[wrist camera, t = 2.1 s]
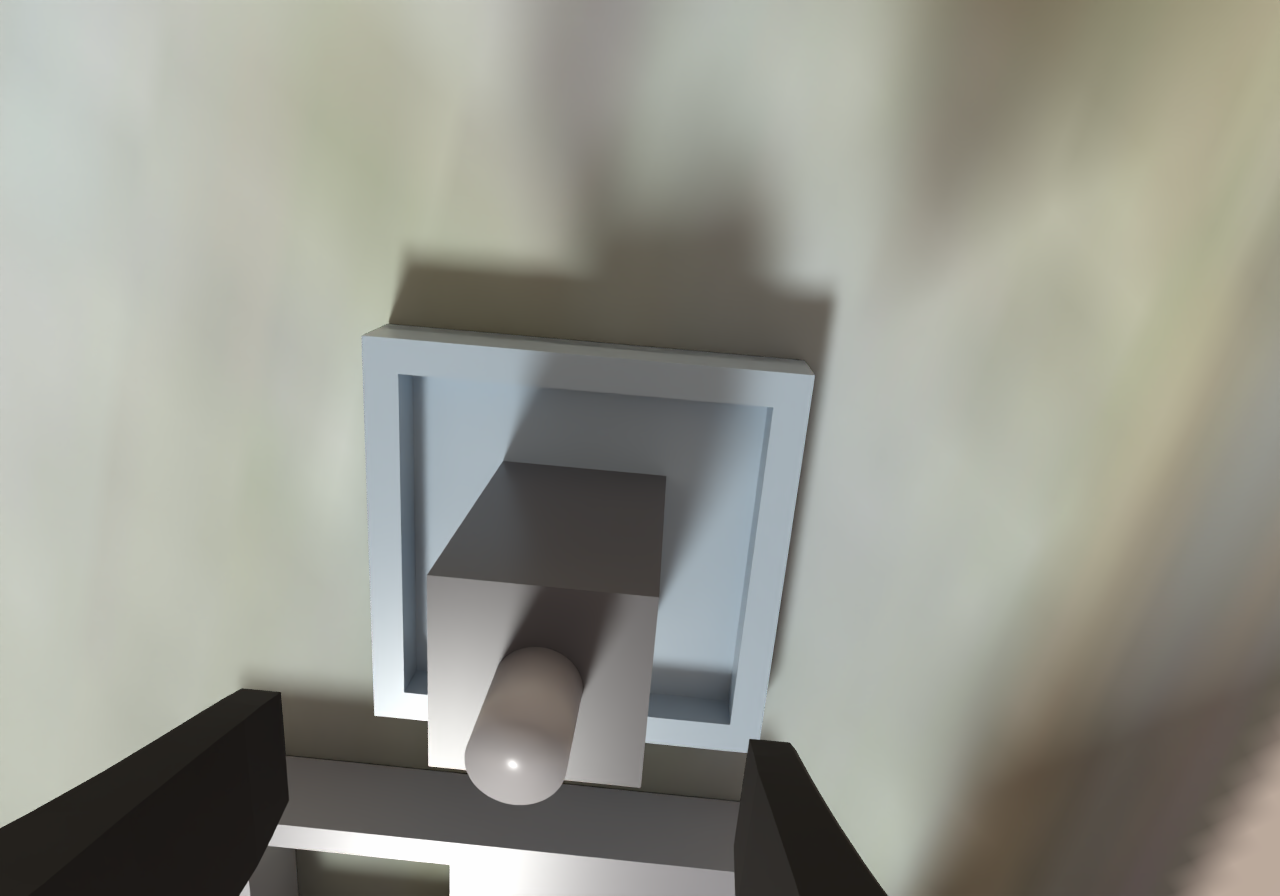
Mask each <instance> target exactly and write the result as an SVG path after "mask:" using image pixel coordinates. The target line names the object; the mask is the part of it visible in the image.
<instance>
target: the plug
mask: <svg viewBox="0 0 1280 896" xmlns="http://www.w3.org/2000/svg"><path fill="white" fill-rule="evenodd" d="M665 491H666V476H662V475H651V474H640V473H629V472H618V471H607V470H596V469H585V468H575V467H564V466H553V465H542V464H531V463H520V462H509V461H503V462H502V463H501V465H500V466H499V468H498V469H497V471H496V472H495V474H494V475H493V477H492V478H491V480H490V481H489V483H488V484H487V486H486V487H485V489H484V490H483V492H482V493H481V495H480V496H479V498H478V499H477V501H476V502H475V504H474V505H473V507H472V508H471V510H470V511H469V513H468V514H467V516H466V517H465V519H464V520H463V522H462V523H461V525H460V526H459V528H458V529H457V531H456V532H455V534H454V535H453V537H452V538H451V540H450V541H449V543H448V544H447V546H446V547H445V549H444V550H443V552H442V553H441V555H440V556H439V558H438V559H437V561H436V562H435V564H434V565H433V567H432V568H431V570H430V571H429V573H428V574H427V665H428V766H431V767H441V768H451V769H460V770H466V771H467V773H468V775H469V777H470V779H471V781H472V782H473V783H474V785H475V786H476V787H477V788H478V789H479V790H480V791H482V792H483V793H484V794H486V795H487V796H489V797H491V798H493V799H495V800H497V801H500V802H503V803H507V804H512V805H528V804H534V803H537V802H540V801H543V800H545V799H547V798H548V797H550V796H551V795H553V794H554V793H555V792H556V791H557V790H558V789H559V788H560V786H561V785H562V783H563V781H564V780H568V781H578V782H588V783H598V784H608V785H618V786H627V787H637V788H641V780H642V770H643V760H644V749H645V739H646V729H647V718H648V708H649V698H650V687H651V677H652V667H653V656H654V646H655V636H656V625H657V615H658V605H659V592H660V575H661V559H662V542H663V525H664V508H665Z"/></svg>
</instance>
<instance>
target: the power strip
mask: <svg viewBox="0 0 1280 896" xmlns="http://www.w3.org/2000/svg"><path fill="white" fill-rule="evenodd" d="M286 766H287V778H288V791H289V802H288V804H287V806H286V808H285V810H284V812H283V815H282V817H281V819H280V821H279V823H278V825H277V828H276V830H275V832H274V834H273V836H272V838H271V840H270V842H269V844H268V846H267V848H266V850H265V852H264V854H263V856H262V858H261V860H260V862H259V864H258V866H257V868H256V869H255V871H254V873H253V874H252V876H251V878H250V879H249V881H248V882H247V884H246V886H245V887H244V889H243V890H242V892H241V894H240V895H239V896H299V892H298V879H297V866H296V853H295V849H304V850H314V851H323V852H333V853H342V854H352V855H361V856H371V857H380V858H390V859H399V860H409V861H418V862H428V863H437V864H447V865H450V896H735V878H734V840H735V833H736V826H737V820H738V813H739V806H740V802H735V801H725V800H715V799H706V798H696V797H686V796H676V795H666V794H657V793H647V792H637V791H627V790H617V789H608V788H598V787H588V786H578V785H568V784H562V785H561V786H560V788H559V789H558V790H557V791H556V792H555V793H554V794H553V795H551V796H550V797H548V798H547V799H545V800H543V801H540V802H537V803H534V804H528V805H512V804H507V803H503V802H500V801H497V800H495V799H493V798H491V797H489V796H487V795H486V794H484V793H483V792H482V791H480V790H479V789H478V788H477V787H476V786H475V785H474V783H473V782H472V781H471V779H470V777H469V775H468V774H460V773H451V772H441V771H431V770H421V769H411V768H402V767H392V766H382V765H372V764H362V763H353V762H343V761H333V760H323V759H313V758H304V757H294V756H286Z"/></svg>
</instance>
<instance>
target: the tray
mask: <svg viewBox="0 0 1280 896" xmlns="http://www.w3.org/2000/svg"><path fill="white" fill-rule="evenodd" d="M362 362H363V392H364V422H365V452H366V481H367V511H368V541H369V571H370V601H371V631H372V660H373V690H374V716H383V717H393V718H403V719H413V720H423V721H428V665H427V574H428V573H429V571H430V570H431V568H432V567H433V565H434V564H435V562H436V561H437V559H438V558H439V556H440V555H441V553H442V552H443V550H444V549H445V547H446V546H447V544H448V543H449V541H450V540H451V538H452V537H453V535H454V534H455V532H456V531H457V529H458V528H459V526H460V525H461V523H462V522H463V520H464V519H465V517H466V516H467V514H468V513H469V511H470V510H471V508H472V507H473V505H474V504H475V502H476V501H477V499H478V498H479V496H480V495H481V493H482V492H483V490H484V489H485V487H486V486H487V484H488V483H489V481H490V480H491V478H492V477H493V475H494V474H495V472H496V471H497V469H498V468H499V466H500V465H501V463H502V462H503V461H509V462H520V463H531V464H542V465H553V466H564V467H575V468H585V469H596V470H607V471H618V472H629V473H640V474H651V475H662V476H666V491H665V508H664V525H663V542H662V559H661V575H660V592H659V605H658V615H657V625H656V636H655V646H654V656H653V667H652V677H651V687H650V698H649V708H648V718H647V729H646V739H645V743H652V744H662V745H672V746H682V747H692V748H702V749H712V750H722V751H732V752H742V753H747V752H748V745H749V739H757V740H760V735H761V728H762V722H763V715H764V709H765V702H766V695H767V689H768V682H769V676H770V669H771V663H772V656H773V649H774V643H775V636H776V630H777V623H778V616H779V610H780V603H781V597H782V590H783V583H784V577H785V570H786V564H787V557H788V550H789V544H790V537H791V531H792V524H793V518H794V511H795V504H796V498H797V491H798V485H799V478H800V471H801V465H802V458H803V452H804V445H805V438H806V432H807V425H808V419H809V412H810V406H811V399H812V392H813V386H814V379H815V375H814V373H813V372H812V370H811V369H810V368H809V366H808V365H807V363H806V362H805V361H804V360H794V359H783V358H772V357H760V356H749V355H737V354H726V353H715V352H703V351H692V350H680V349H669V348H657V347H646V346H635V345H623V344H612V343H600V342H589V341H578V340H566V339H555V338H543V337H532V336H520V335H509V334H498V333H486V332H475V331H463V330H452V329H441V328H429V327H418V326H406V325H395V324H386V325H384V326H382V327H379V328H377V329H375V330H373V331H371V332H368V333H366V334H364V335H362Z"/></svg>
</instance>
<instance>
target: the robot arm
mask: <svg viewBox="0 0 1280 896" xmlns="http://www.w3.org/2000/svg"><path fill="white" fill-rule="evenodd" d="M288 802H289V791H288V778H287V766H286V753H285V740H284V727H283V715H282V702H281V692H272V691H262V690H252V689H240V690H238V691H236V692H235V693H233V694H231V695H229V696H227V697H226V698H224V699H222V700H220V701H219V702H217V703H215V704H214V705H212V706H210V707H209V708H207V709H205V710H204V711H202V712H201V713H199V714H197V715H196V716H194V717H192V718H191V719H189V720H187V721H186V722H184V723H183V724H181V725H179V726H178V727H176V728H174V729H173V730H171V731H170V732H168V733H166V734H165V735H163V736H161V737H160V738H158V739H156V740H155V741H153V742H152V743H150V744H148V745H147V746H145V747H143V748H142V749H140V750H138V751H137V752H135V753H133V754H132V755H130V756H128V757H127V758H125V759H123V760H122V761H120V762H118V763H117V764H115V765H113V766H112V767H110V768H108V769H107V770H105V771H103V772H102V773H100V774H98V775H96V776H94V777H93V778H91V779H89V780H87V781H86V782H84V783H82V784H80V785H78V786H77V787H75V788H73V789H71V790H69V791H68V792H66V793H64V794H62V795H61V796H59V797H57V798H55V799H53V800H52V801H50V802H48V803H46V804H44V805H43V806H41V807H39V808H37V809H36V810H34V811H32V812H30V813H28V814H27V815H25V816H23V817H21V818H19V819H17V820H15V821H13V822H11V823H9V824H7V825H5V826H4V827H2V828H0V896H239V895H240V894H241V892H242V890H243V889H244V887H245V886H246V884H247V882H248V881H249V879H250V878H251V876H252V874H253V873H254V871H255V869H256V868H257V866H258V864H259V862H260V860H261V858H262V856H263V854H264V852H265V850H266V848H267V846H268V844H269V842H270V840H271V838H272V836H273V834H274V832H275V830H276V828H277V825H278V823H279V821H280V819H281V817H282V815H283V812H284V810H285V808H286V806H287V804H288ZM734 878H735V896H888V895H887V894H886V893H885V891H884V890H883V889H882V887H881V886H880V884H879V883H878V882H877V880H876V879H875V877H874V876H873V875H872V873H871V872H870V870H869V869H868V867H867V866H866V865H865V863H864V862H863V860H862V859H861V857H860V856H859V854H858V853H857V851H856V850H855V848H854V847H853V845H852V844H851V842H850V841H849V839H848V838H847V836H846V835H845V833H844V832H843V830H842V829H841V827H840V825H839V824H838V822H837V821H836V819H835V817H834V816H833V814H832V813H831V811H830V809H829V808H828V806H827V804H826V803H825V801H824V799H823V798H822V796H821V794H820V793H819V791H818V789H817V787H816V786H815V784H814V782H813V781H812V779H811V777H810V775H809V773H808V772H807V770H806V768H805V766H804V764H803V763H802V761H801V759H800V757H799V755H798V753H797V751H796V750H795V748H794V747H793V746H792V745H791V744H790V743H788V742H777V741H767V740H757V739H749V745H748V752H747V758H746V765H745V772H744V779H743V786H742V792H741V799H740V806H739V813H738V820H737V826H736V833H735V840H734Z"/></svg>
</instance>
